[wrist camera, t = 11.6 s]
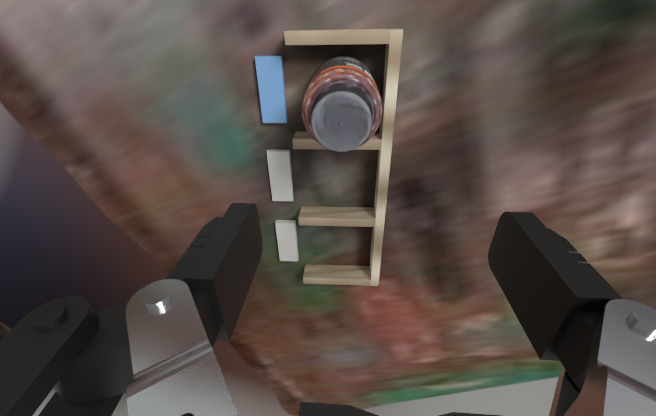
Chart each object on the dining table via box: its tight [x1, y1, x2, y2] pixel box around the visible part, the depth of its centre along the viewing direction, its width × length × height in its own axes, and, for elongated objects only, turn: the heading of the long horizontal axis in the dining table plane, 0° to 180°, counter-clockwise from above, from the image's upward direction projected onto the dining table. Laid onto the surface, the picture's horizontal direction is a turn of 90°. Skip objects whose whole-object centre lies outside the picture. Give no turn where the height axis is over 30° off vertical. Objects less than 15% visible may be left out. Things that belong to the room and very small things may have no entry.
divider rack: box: [284, 29, 403, 286], centre depth 33 cm, size 28×10×2 cm, turn 1°
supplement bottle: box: [302, 56, 383, 152], centre depth 25 cm, size 6×6×11 cm
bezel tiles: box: [255, 56, 299, 261], centre depth 34 cm, size 24×2×1 cm, turn 1°
